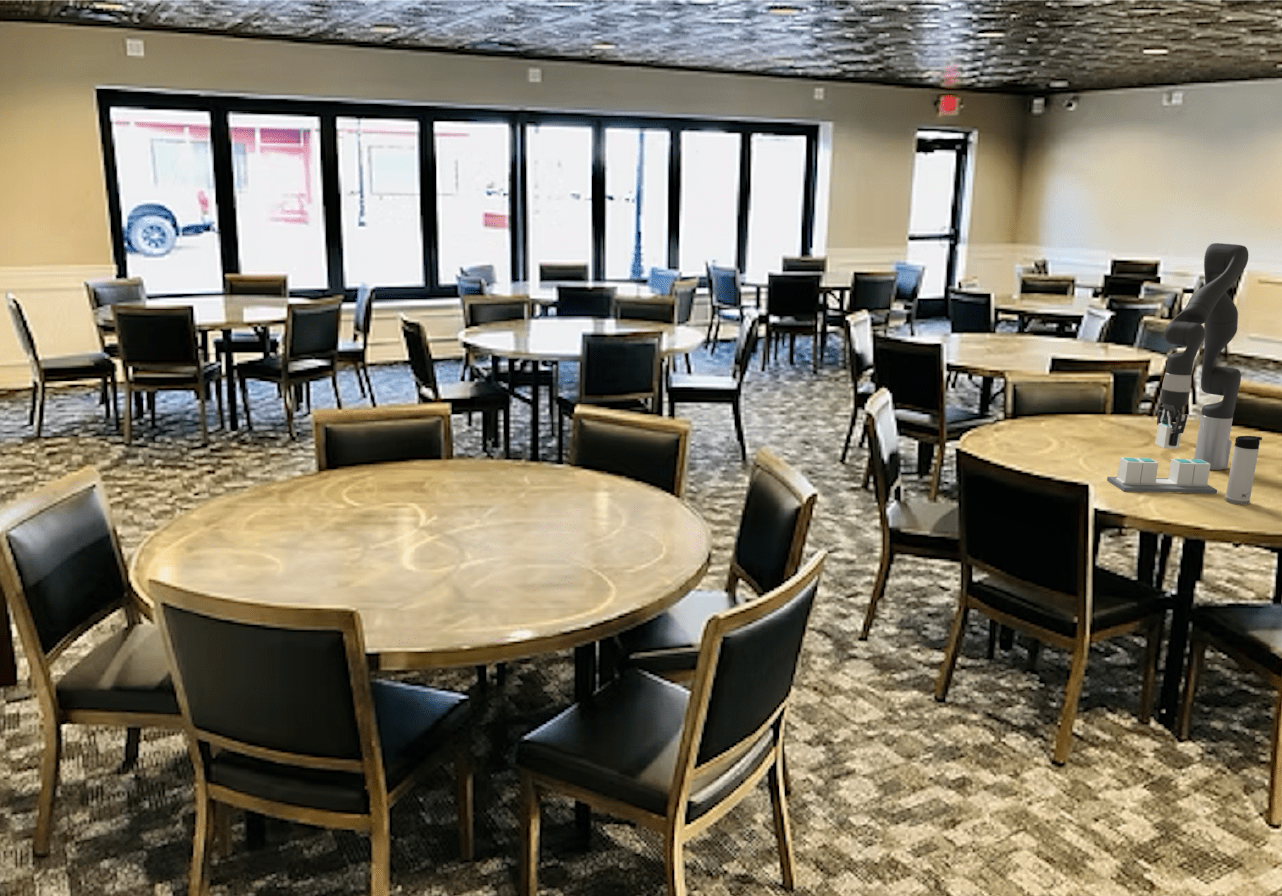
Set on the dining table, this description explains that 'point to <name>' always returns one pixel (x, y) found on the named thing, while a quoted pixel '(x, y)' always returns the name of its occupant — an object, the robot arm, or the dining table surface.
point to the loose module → (1165, 436)
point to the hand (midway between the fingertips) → (1167, 443)
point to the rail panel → (1181, 478)
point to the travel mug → (1242, 469)
